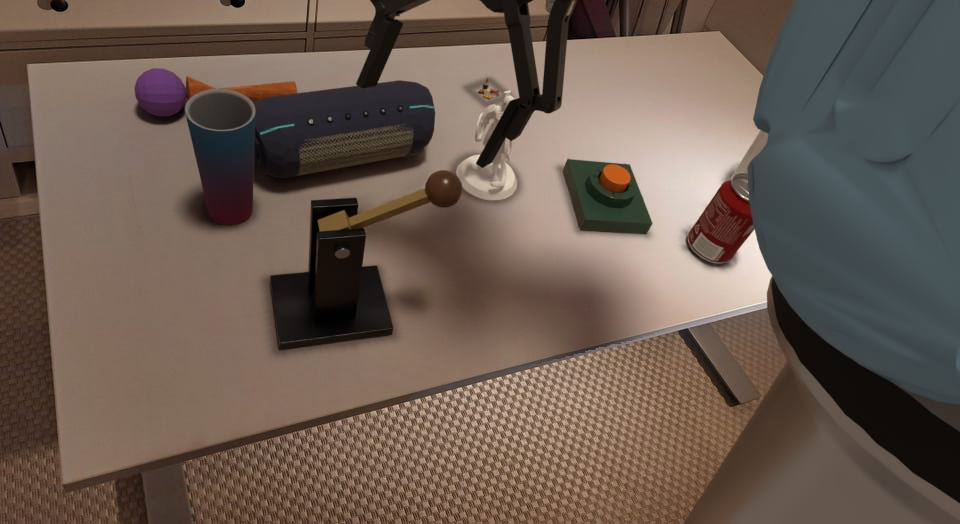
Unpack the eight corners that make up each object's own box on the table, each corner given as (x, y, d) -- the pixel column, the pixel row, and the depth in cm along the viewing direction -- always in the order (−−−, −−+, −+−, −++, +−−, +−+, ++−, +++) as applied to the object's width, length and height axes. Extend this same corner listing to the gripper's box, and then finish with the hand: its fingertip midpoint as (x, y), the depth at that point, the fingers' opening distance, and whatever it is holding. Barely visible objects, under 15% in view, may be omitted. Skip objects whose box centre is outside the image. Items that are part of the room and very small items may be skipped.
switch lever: (460, 180, 66) (451, 157, 63) (470, 207, 63) (462, 183, 61) (328, 232, 66) (313, 210, 63) (334, 259, 64) (318, 239, 61)
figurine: (445, 182, 90) (468, 92, 79) (470, 148, 96) (494, 59, 84) (504, 209, 89) (535, 122, 78) (525, 173, 95) (557, 87, 84)
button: (629, 194, 91) (634, 185, 90) (602, 192, 90) (607, 183, 89) (622, 174, 94) (626, 165, 92) (596, 172, 93) (600, 163, 91)
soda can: (710, 273, 90) (757, 213, 81) (676, 239, 93) (717, 178, 84) (739, 256, 93) (787, 197, 84) (705, 224, 96) (747, 164, 87)
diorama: (474, 90, 105) (477, 79, 103) (490, 84, 107) (493, 73, 106) (486, 100, 104) (489, 89, 102) (502, 94, 106) (506, 83, 104)
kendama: (301, 95, 89) (135, 94, 80) (296, 124, 93) (139, 126, 84) (293, 62, 91) (130, 57, 82) (288, 92, 96) (134, 90, 87)
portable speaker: (259, 200, 80) (256, 137, 73) (236, 147, 85) (231, 83, 78) (440, 165, 92) (453, 107, 84) (410, 119, 97) (421, 61, 89)
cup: (268, 223, 79) (264, 124, 67) (209, 237, 75) (195, 136, 64) (249, 184, 82) (243, 84, 71) (192, 196, 79) (176, 93, 67)
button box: (646, 234, 92) (658, 214, 89) (580, 230, 90) (590, 210, 87) (624, 174, 100) (634, 155, 97) (562, 169, 97) (571, 149, 94)
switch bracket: (376, 271, 78) (390, 180, 66) (392, 334, 72) (410, 248, 61) (270, 281, 73) (266, 187, 62) (279, 349, 68) (277, 260, 57)
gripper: (676, -24, 54) (545, 188, 63) (428, -172, 57) (339, 52, 66) (667, -31, 47) (523, 207, 57) (388, -198, 50) (295, 55, 60)
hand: (424, 124), depth 61 cm, fingers open, 13 cm apart
